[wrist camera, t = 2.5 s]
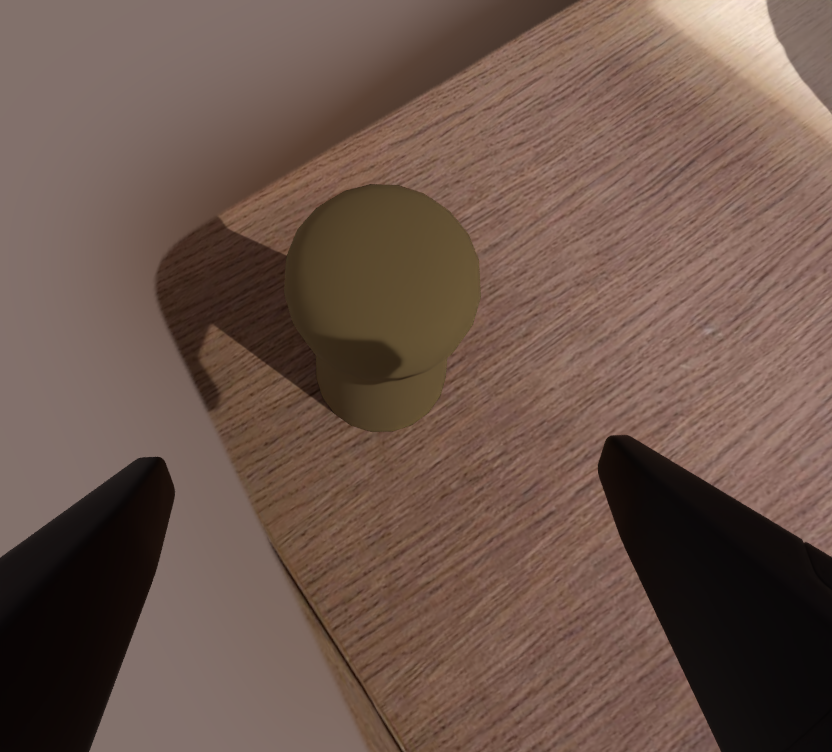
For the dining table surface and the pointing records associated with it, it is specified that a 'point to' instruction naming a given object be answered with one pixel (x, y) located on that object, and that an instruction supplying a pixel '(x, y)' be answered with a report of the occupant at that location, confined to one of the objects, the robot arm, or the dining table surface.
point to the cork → (382, 301)
